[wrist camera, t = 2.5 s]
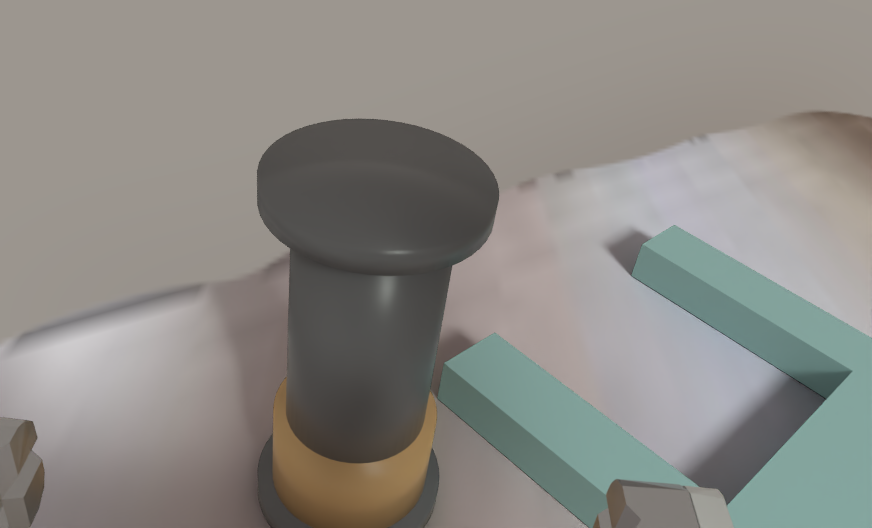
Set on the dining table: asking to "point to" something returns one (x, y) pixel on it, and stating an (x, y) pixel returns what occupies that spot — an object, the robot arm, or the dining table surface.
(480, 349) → the notched board
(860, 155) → the dining table surface
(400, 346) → the door knob
